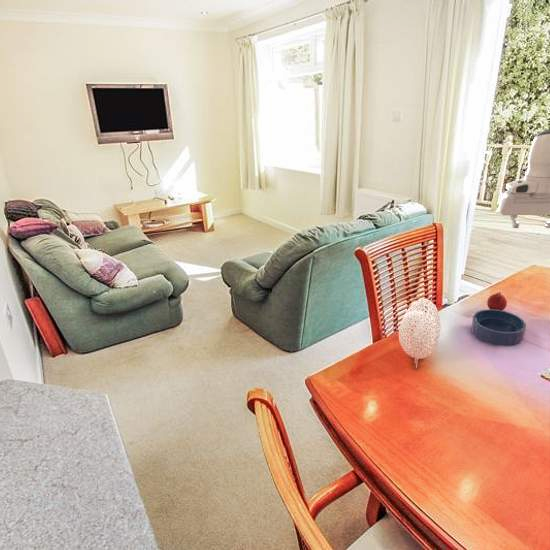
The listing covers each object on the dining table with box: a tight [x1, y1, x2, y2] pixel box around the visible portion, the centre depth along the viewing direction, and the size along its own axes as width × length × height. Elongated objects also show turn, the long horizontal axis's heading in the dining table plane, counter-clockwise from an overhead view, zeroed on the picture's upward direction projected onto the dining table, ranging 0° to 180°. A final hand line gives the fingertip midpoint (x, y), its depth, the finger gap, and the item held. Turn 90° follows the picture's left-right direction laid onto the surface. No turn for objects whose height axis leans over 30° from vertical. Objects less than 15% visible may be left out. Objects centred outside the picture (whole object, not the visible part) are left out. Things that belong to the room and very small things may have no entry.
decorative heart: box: [398, 298, 441, 369], centre depth 107 cm, size 18×11×17 cm, turn 150°
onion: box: [486, 291, 508, 311], centre depth 128 cm, size 6×6×8 cm
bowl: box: [470, 308, 527, 347], centre depth 117 cm, size 14×14×5 cm
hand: (531, 227), depth 121 cm, fingers open, 8 cm apart
